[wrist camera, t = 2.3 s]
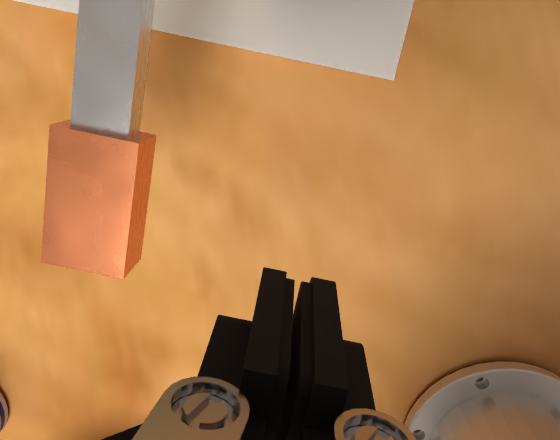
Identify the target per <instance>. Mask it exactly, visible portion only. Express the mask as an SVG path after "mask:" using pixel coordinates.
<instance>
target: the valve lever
mask: <svg viewBox="0 0 560 440" xmlns="http://www.w3.org/2000/svg"><path fill="white" fill-rule="evenodd" d="M154 5H155V0H79V11H78V25H77V38H76V52H75V66H74V79H73V93H72V106H71V120H67V121H63V122H59V123H55V124H51V125H50V128H49V145H48V161H47V177H46V194H45V210H44V226H43V242H42V259H41V262H42V263H46V264H51V265H56V266H61V267H66V268H70V269H75V270H80V271H85V272H90V273H94V274H99V275H104V276H109V277H113V278H118V279H124V278H125V277H126V276H127V274H128V273H129V272H130V271H131V270H132V269H133V267H134V266H135V265H136V264H137V263H138V262H139V260H140V259H141V253H142V245H143V237H144V229H145V221H146V213H147V205H148V198H149V190H150V182H151V174H152V166H153V158H154V150H155V142H156V135H154V134H149V133H145V132H140V126H141V117H142V108H143V100H144V91H145V82H146V74H147V65H148V57H149V48H150V39H151V31H152V22H153V13H154Z"/></svg>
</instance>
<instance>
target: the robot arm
mask: <svg viewBox="0 0 560 440" xmlns="http://www.w3.org/2000/svg"><path fill="white" fill-rule="evenodd" d="M286 273H287V272H285V271H280V270H275V269H270V268H265V267H264V268H263V272H262V277H261V282H260V287H259V292H258V296H257V301H256V306H255V311H254V316H253V321H247V320H242V319H238V318H233V317H228V316H223V315H218V317H217V320H216V323H215V326H214V329H213V332H212V335H211V338H210V341H209V344H208V347H207V350H206V353H205V356H204V359H203V362H202V365H201V368H200V371H199V374H198V377H190V378H186V379H182V380H180V381H178V382H176V383H174V384H172V385H171V386H170V387H169V388H168V389H167V390H166V391H165V392H164V393H163V395H162V396H161V398H160V399H159V401H158V402H157V403H156V405H155V406H154V408H153V409H152V411H151V412H150V414H149V415H148V417H147V418H146V420H145V421H144V423H143V424H141V425H138V426H136V427H133V428H130V429H128V430H125V431H122V432H120V433H117V434H115V435H112V436H109V437H107V438H104V439H102V440H560V377H559V376H557V375H556V374H554V373H553V372H550V371H548V370H545V369H543V368H540V367H538V366H534V365H530V364H525V363H520V362H503V361H498V362H489V363H481V364H477V365H473V366H470V367H466V368H463V369H460V370H458V371H456V372H454V373H452V374H450V375H448V376H445V377H444V378H442V379H441V380H439V381H438V382H437V383H435V384H434V385H432V386H431V387H430V388H429V389H428V390H427V391H426V392H425V393H424V394H423V395H422V396H421V397H420V398H419V399H418V400H417V401H416V403H415V404H414V406H413V407H412V409H411V410H410V412H409V414H408V416H407V419H406V421H405V424H404V425H403V424H402V423H401V422H399V421H398V420H396V419H395V418H393V417H391V416H389V415H387V414H384V413H382V412H379V411H376V409H375V404H374V399H373V394H372V389H371V384H370V378H369V373H368V368H367V363H366V358H365V353H364V348H363V345H362V344H361V343H356V342H351V341H346V340H343V337H342V329H341V321H340V313H339V306H338V298H337V290H336V283H335V282H333V281H329V280H324V279H319V278H314V277H312V278H311V280H310V283H307V282H301V285H300V288H299V293H298V297H297V301H296V305H295V310H294V314H293V301H294V280H293V279H288V278H286Z"/></svg>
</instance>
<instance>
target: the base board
mask: <svg viewBox="0 0 560 440" xmlns="http://www.w3.org/2000/svg"><path fill="white" fill-rule="evenodd" d="M14 1H19V2H24V3H29V4H33V5H38V6H43V7H47V8H52V9H57V10H62V11H66V12H71V13H76V14H78V11H79V0H14ZM413 4H414V0H155V5H154V13H153V22H152V30H156V31H161V32H166V33H170V34H175V35H180V36H185V37H189V38H194V39H199V40H203V41H208V42H213V43H218V44H222V45H227V46H232V47H236V48H241V49H246V50H251V51H255V52H260V53H265V54H270V55H274V56H279V57H284V58H288V59H293V60H298V61H303V62H307V63H312V64H317V65H322V66H326V67H331V68H336V69H340V70H345V71H350V72H355V73H359V74H364V75H369V76H373V77H378V78H383V79H388V80H392V81H394V77H395V73H396V69H397V66H398V62H399V58H400V54H401V50H402V46H403V43H404V39H405V35H406V31H407V27H408V23H409V20H410V16H411V12H412V8H413Z"/></svg>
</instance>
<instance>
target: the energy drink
mask: <svg viewBox="0 0 560 440" xmlns="http://www.w3.org/2000/svg"><path fill="white" fill-rule="evenodd" d="M7 419H8V407H7V404H6V401H5V398H4V396H3V395H2V393H1V392H0V432H1V430H2V429H3V428H4V427H5V425H6V422H7Z"/></svg>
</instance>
